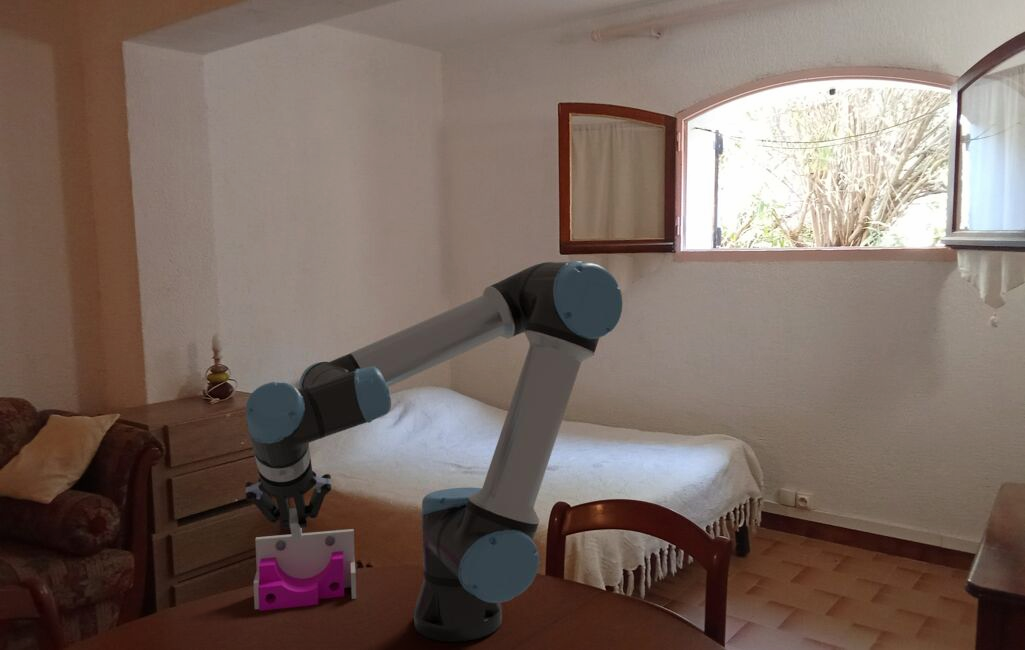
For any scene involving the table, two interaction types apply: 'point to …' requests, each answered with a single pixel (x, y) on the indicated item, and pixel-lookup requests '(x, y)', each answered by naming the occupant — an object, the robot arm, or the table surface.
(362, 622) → the table surface
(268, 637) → the table surface
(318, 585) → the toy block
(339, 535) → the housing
